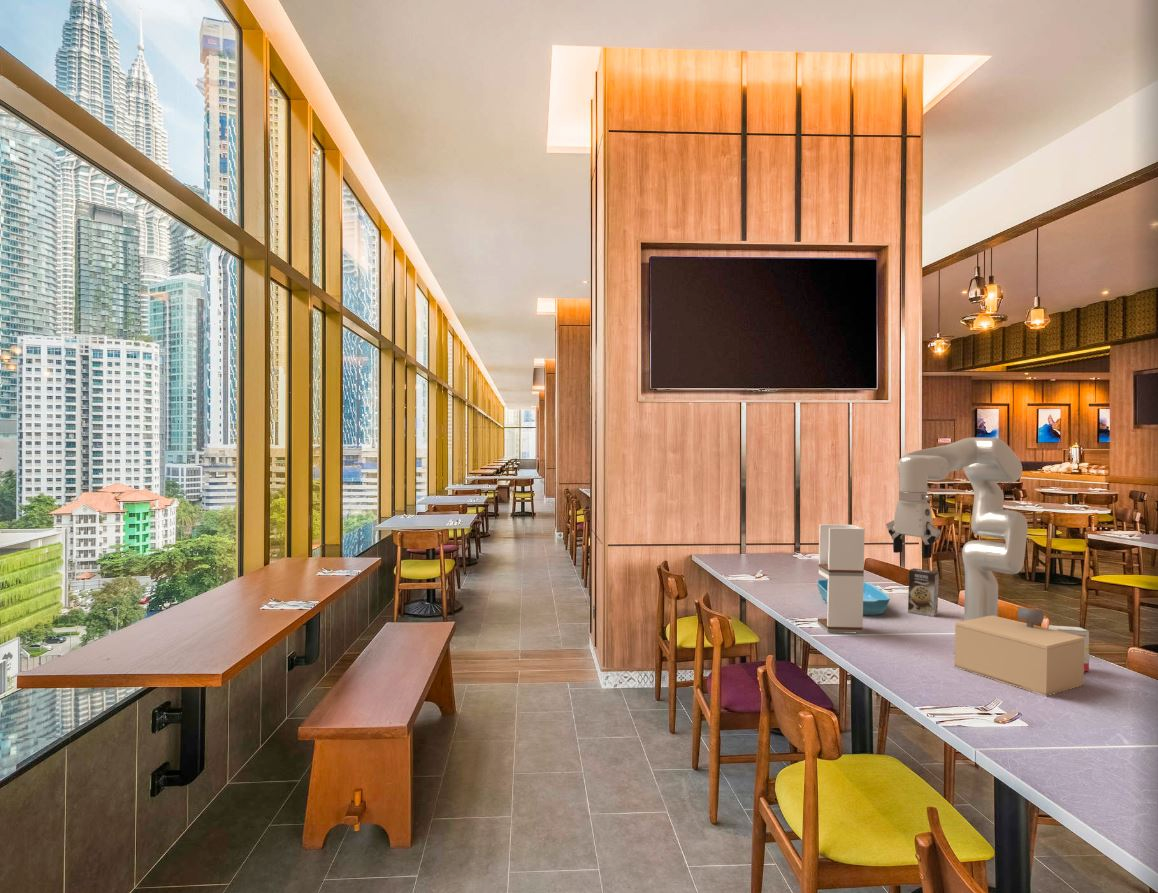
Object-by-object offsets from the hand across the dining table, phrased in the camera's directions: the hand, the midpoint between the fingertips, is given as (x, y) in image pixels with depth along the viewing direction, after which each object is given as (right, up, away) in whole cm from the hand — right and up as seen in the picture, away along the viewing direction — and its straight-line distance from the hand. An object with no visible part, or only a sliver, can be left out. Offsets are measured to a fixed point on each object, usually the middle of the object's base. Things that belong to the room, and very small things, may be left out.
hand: (911, 554), depth 199 cm
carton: (+21, -31, -15) cm, 41 cm away
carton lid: (+22, -19, -15) cm, 32 cm away
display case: (-10, -30, +29) cm, 43 cm away
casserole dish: (+7, -30, +62) cm, 70 cm away
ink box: (+40, -31, -8) cm, 52 cm away
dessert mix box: (+30, -31, +52) cm, 67 cm away
